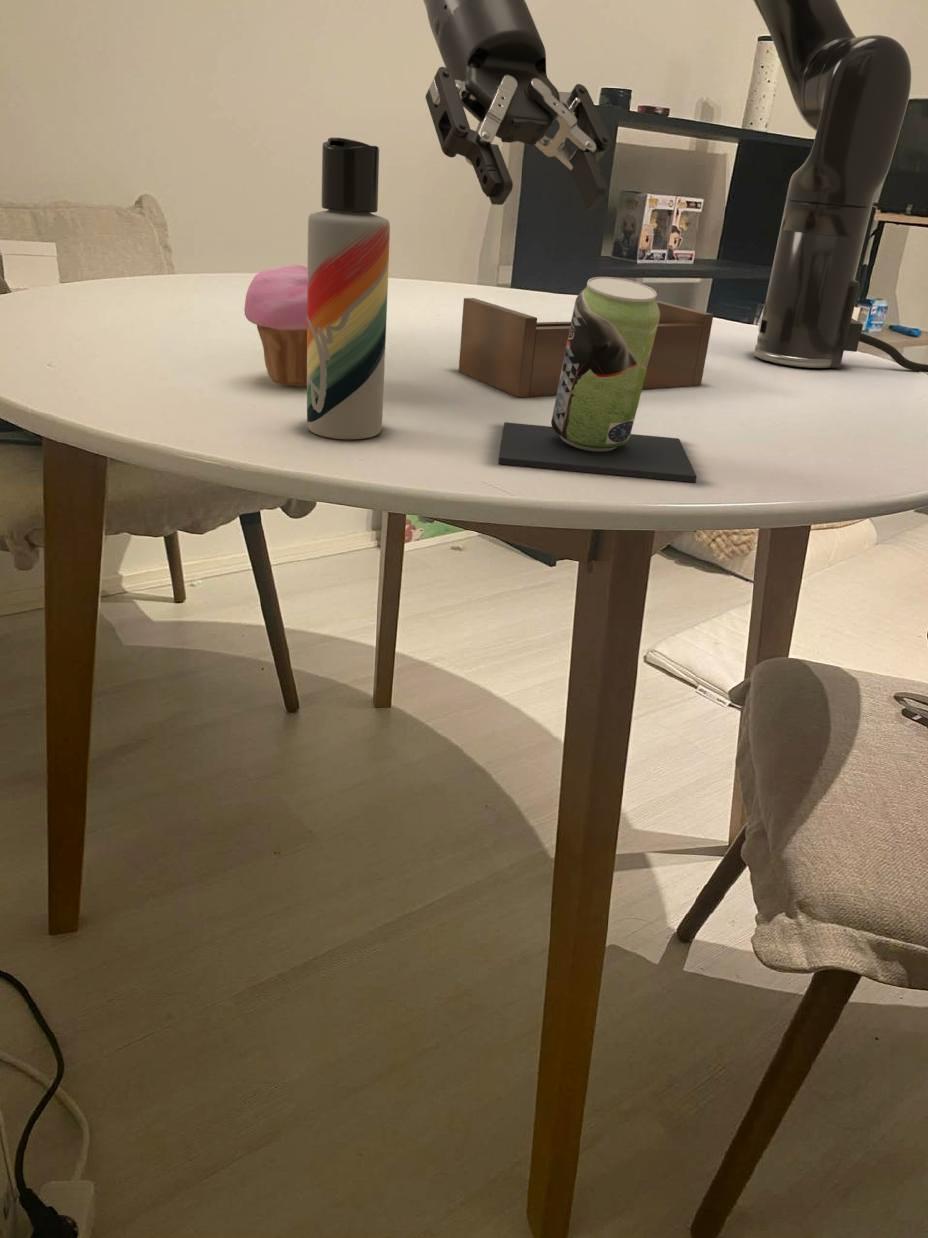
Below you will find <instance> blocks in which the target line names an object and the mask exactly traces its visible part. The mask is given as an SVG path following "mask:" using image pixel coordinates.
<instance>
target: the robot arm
mask: <svg viewBox="0 0 928 1238" xmlns="http://www.w3.org/2000/svg"><path fill="white" fill-rule="evenodd" d="M422 1H423V3H424V6H425V10H426V14H427V19H428V23H429V27H430V31H431V33H432V35H433V38H434V40H435V43H436V46H437V48H438V51H439V53H440V56H441V59H442V62H443V64H444V66H440V67H439V68H438V69H437V71H436V73H435V75H434V77H433V79H432V81H431V83H430V86H429V87H428V90H427V91H426V93H425V101H426V104H427V107H428V110H429V113H430V116H431V120H432V123H433V127H434V130H435V133H436V136H437V139H438V143H439V146H440V149H441V151H442V153H443V155H444V156H446V157H449V158H455V157H457V155H459V156H462V157H464V158H465V159H464V160H466V162H467V164H468V165H471V166H472V167H473V170H474V172H475V176H476V178H477V179H478V183H479V186H480V188H481V191H482V193H483V194H485V196H486V197H488V198H489V201H490V203H491V204H492V205H493V206H495V205H497V206H502V205H504V204H505V202H506V201H507V199H508V198H509V196H510V194H511V193H512V191H513V187H514V182H513V179H512V176H511V174H510V172H509V169H508V167H507V163H506V161H505V159H504V156H503V154H502V152H501V149H500V147H499V144H495V143H493V142H494V140H495V137H496V138H498V139H500V141H501V142H502V143H508V144H509V143H516V142H520V143H522V144H525V145H533V146H535V147H536V148H537V149H538V150H539V151H541V152H542V153H543V154H544V155H545V156H546V157H548V158H553V157H554V158H557V160H559V162H561V163H562V164H563V165H564V166H565V167H566V168H568V170H570V171H569V175H570V178H571V181H572V183H573V185H574V188H575V190H576V193H577V196H578V199H579V201H580V202H581V205H582V207H583V210H595V209H596V208H597V207H598V206H599V204H600V203H601V202H602V200H603V199H604V198H605V196H606V192H607V190H608V184H607V182H606V179H605V177H604V174H603V172H602V170H601V168H600V165H599V161H600V160H601V158H602V157H603V156H604V154H605V153H606V151H607V150H608V149H609V148H610V147H611V145H612V142H613V141H612V138H611V136H610V134H609V132H608V130H607V128H606V126H605V124H604V122H603V119H602V117H601V116H600V113H599V111H598V109H597V107H596V105H595V103H594V101H593V99H592V97H591V95H590V92H589V91H588V89H587V87H585V85H583V84H582V83H581V84H580V83H576V84H575V85H574V87H573V89H572V90H571V91H569V92H568V91H559V90H558V88H557V87H556V86H555V85H554V84H553V83H552V82H551V81H550V79H549V77H548V74H547V54H546V52H547V51H546V47H545V45H544V43H543V40H542V37H541V36H540V32H539V31H538V28H537V25H536V23H535V21H534V19H533V16H532V14H531V12H530V9H529V6H528V4H527V2H526V0H422ZM753 2H754V5H755V7H756V9H757V10H758V12H759V14H760V16H761V18H762V20H763V22H764V23H765V24H764V25H765V26H766V28H767V30H768V33H769V35H770V38H771V40H772V42H773V45H774V48H775V50H776V53H777V56H778V59H779V61H780V64H781V67H782V70H783V73H784V76H785V78H786V81H787V84H788V87H789V90H790V93H791V96H792V99H793V102H794V104H795V107H796V108H797V111H798V113H799V116H801V118H802V120H803V121H804V122H805V124H806V125H807V126H808V127H809V128H811V129H812V130H814V131H815V135H814V140H813V144H812V147H811V149H810V153H809V155H808V156H807V158H806V160H805V161H804V163H803V164H801V166H800V167H799V168H798V169H796V171H794V172H793V173H792V175H791V177H790V179H789V183H788V187H787V192H786V195H785V196H786V197H785V202H784V207H783V213H782V217H781V223H780V227H779V232H778V237H777V243H776V247H775V252H774V257H773V262H772V267H771V272H770V277H769V282H768V287H767V292H766V296H765V297H766V298H765V301H764V307H763V311H762V316H761V318H760V319H759V324H758V328H757V330H758V335H757V337H756V338H757V339H756V344H755V346H754V350H753V355H754V357H756V358H757V359H760V360H762V361H766V362H768V363H769V362H770V363H772V364H773V363H774V364H777V365H784V366H791V367H798V368H807V369H808V368H809V369H829V368H833V369H840V368H841V366H842V365H841V363H842V360H843V356H844V352H851V353H853V352H855V353H857V351H858V347H859V343H860V342H861V343H863V344H865V345H869V346H871V347H873V348H876V349H878V350H880V351H882V352H884V353H886V354H887V355H888V356H889V357H890V358H891V359H893V360H894V361H895V363H897V365H899V366H900V367H902V368H904V369H907V370H910V371H913V372H918V373H928V364H927V363H920V362H919V363H918V362H915V361H912V360H909V359H907V358H906V357H905V356H904V355H903V354H902V353H901V352H900V351H899V350H898V349H897V348H896V347H894V346H893V345H891V344H889V343H887V342H886V341H884V340H881V339H879V338H878V337H877V338H876V337H873V336H871V335H868V334H865V333H863V332H862V331H863V326H864V324H863V323H861V322H860V321H858V320H856V319H854V318H853V314H854V310H855V307H856V302H857V297H858V293H859V289H860V282H859V281H858V280H856V277H857V272H858V268H859V264H860V261H861V255H862V251H863V248H864V247H863V246H864V244H865V240H866V239H865V238H866V234H867V232H868V231H867V230H868V226H869V223H870V217H871V213H872V211H873V209H872V207H873V205H874V202H875V197H876V194H877V192H878V190H879V188H880V187H881V185H882V184H883V182H884V181H885V179H886V177H887V175H888V173H889V171H890V168H891V164H892V162H893V158H894V154H895V151H896V147H897V145H898V140H899V137H900V133H901V129H902V126H903V123H904V119H905V115H906V112H907V109H908V108H907V107H908V103H909V98H910V93H911V88H912V87H911V86H912V85H911V84H912V66H911V62H910V58H909V55H908V53H907V51H906V49H905V48H904V47H903V45H902V44H901V43H899V41H898V40H896V39H895V38H893V37H890V36H886V35H881V34H871V35H863V36H856V35H855V33H854V32H853V30H852V28H851V27H850V24H849V23H848V21H847V19H846V18H845V16H844V13H843V12H842V9H841V7H840V5H839V3H838V1H837V0H753ZM465 110H466V111H467V112H468V113H469V114H470V115H471V116H472V117H473V118H475V119H476V120H477V121H478V124H477V127H476V128H475V130H473V129H472V128H471V126H470V124H469V120H468V118H467V114H466V111H465ZM554 120H556V121H557V123H558V125H559V127H558V129H557V131H556V133H555V134H554V136H553V137H552V138H551V137H549V136H548V135H547V132H548V131H549V130H550V128H551V126H552V124H553V121H554ZM591 136H592V138H591ZM567 139H569V140H570V141H571V142H572V143H573V144H574V145H575V147H576V149H575V150H574V152H573V151H572V150H571V149H570V148H568V146H567V145H566V144H565V142H566V140H567Z"/></svg>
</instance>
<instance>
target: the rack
mask: <svg viewBox="0 0 928 1238" xmlns="http://www.w3.org/2000/svg"><path fill="white" fill-rule="evenodd" d="M462 303H463V305H462V318H461V331H460V333H461V334H460V345H459V358H458V360H459V361H458V372H459V373H462V374H464V375H466V376H468V377H471V378H472V379H475V380H478V381H479V382H482V383H485V384H487V385H489V386H491V387H494V388H495V389H498V390H501V391H502V392H506V393H508V394H510V395H512V396H515V397H517V398H532V397H544V396H545V397H547V396H557V391H558V386H559V381H560V376H561V370H562V365H563V360H564V355H565V350H566V345H567V340H568V335H569V330H570V325H571V321H540V322H539V321H538V318H537V317H536V316H533V315H530V314H527V313H523V312H519V311H517V310H514V309H510V308H507V307H504V306H500V305H497V304H494V303H491V302H487V301H485V300H481V299H478V298H475V297H463V302H462ZM656 303H657V305H658V308H659V311H660V318H659V323H658V327H657V331H656V335H655V339H654V343H653V347H652V351H651V355H650V359H649V363H648V367H647V371H646V375H645V379H644V383H643V387H642V390H650V389H651V390H652V389H664V388H679V387H680V388H681V387H694V386H697V387H698V386H702V383H703V382H702V381H703V375H704V370H705V364H706V359H707V355H708V354H707V353H708V348H709V342H710V338H711V331H712V326H713V320H714V313H710V312H705V311H701V310H697V309H693V308H690V307H685V306H681V305H677V304H673V303H669V302H666V301H661V300H657V299H656Z"/></svg>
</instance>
